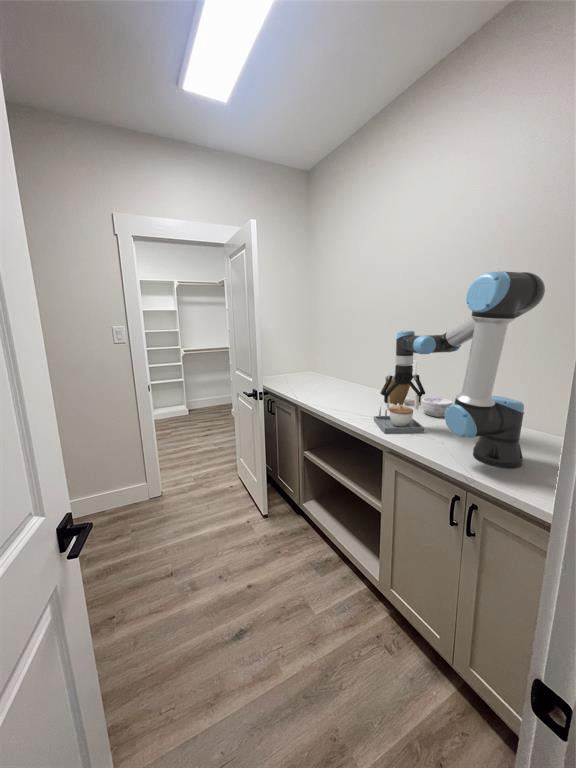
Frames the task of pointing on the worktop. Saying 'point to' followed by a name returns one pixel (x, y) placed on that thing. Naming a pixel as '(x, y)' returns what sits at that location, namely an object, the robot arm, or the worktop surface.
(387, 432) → the dish rack
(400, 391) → the plant pot
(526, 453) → the worktop surface
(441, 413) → the paper bowls
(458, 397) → the robot arm
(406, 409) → the lidded jar
